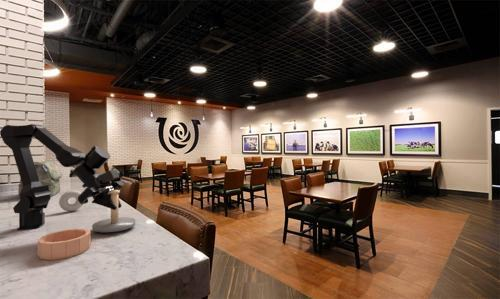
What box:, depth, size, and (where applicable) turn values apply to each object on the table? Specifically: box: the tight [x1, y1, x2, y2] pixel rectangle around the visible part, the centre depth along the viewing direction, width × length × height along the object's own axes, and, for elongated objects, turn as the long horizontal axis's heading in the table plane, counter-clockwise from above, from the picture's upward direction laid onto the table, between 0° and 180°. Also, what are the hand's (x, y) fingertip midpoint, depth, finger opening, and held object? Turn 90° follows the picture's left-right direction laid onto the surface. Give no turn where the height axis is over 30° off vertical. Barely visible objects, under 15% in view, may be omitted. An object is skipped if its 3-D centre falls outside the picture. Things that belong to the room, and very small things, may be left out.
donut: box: [58, 189, 84, 212], centre depth 119 cm, size 10×4×10 cm, turn 134°
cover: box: [91, 189, 136, 233], centre depth 92 cm, size 14×14×13 cm
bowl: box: [37, 228, 92, 261], centre depth 73 cm, size 12×12×4 cm
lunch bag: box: [17, 160, 63, 198], centre depth 160 cm, size 26×18×22 cm
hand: (118, 208), depth 92 cm, fingers closed on cover, 2 cm apart
